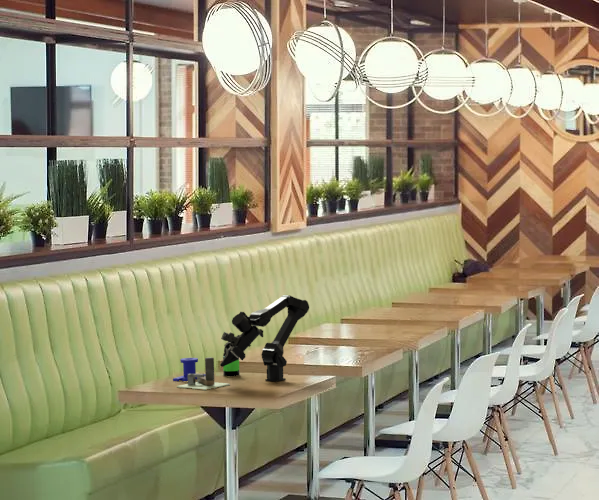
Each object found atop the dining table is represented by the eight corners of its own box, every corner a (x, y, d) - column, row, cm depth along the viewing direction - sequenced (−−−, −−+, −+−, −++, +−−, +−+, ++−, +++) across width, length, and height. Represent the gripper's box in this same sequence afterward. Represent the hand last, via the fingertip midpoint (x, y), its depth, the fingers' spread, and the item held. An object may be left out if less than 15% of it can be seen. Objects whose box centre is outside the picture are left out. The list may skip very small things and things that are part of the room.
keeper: (189, 385, 508) (189, 373, 508) (204, 385, 507) (203, 373, 506) (187, 386, 505) (187, 374, 505) (202, 386, 504) (201, 374, 503)
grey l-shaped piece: (195, 381, 513) (195, 355, 512) (205, 380, 514) (205, 354, 514) (206, 385, 500) (205, 358, 499) (216, 384, 501) (215, 358, 501)
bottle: (237, 376, 529) (236, 342, 528) (221, 376, 530) (220, 342, 530) (241, 374, 536) (240, 340, 535) (225, 374, 538) (224, 340, 537)
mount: (191, 376, 535) (190, 356, 535) (206, 377, 532) (205, 357, 531) (172, 381, 522) (172, 361, 521) (187, 382, 518) (187, 361, 518)
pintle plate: (229, 385, 506) (229, 383, 506) (205, 390, 494) (205, 389, 494) (201, 382, 516) (201, 380, 516) (176, 387, 503) (176, 386, 503)
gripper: (228, 322, 512) (203, 350, 510) (236, 327, 494) (210, 355, 492) (247, 340, 514) (222, 368, 512) (256, 345, 496) (230, 374, 494)
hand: (220, 366), depth 503 cm, fingers closed
